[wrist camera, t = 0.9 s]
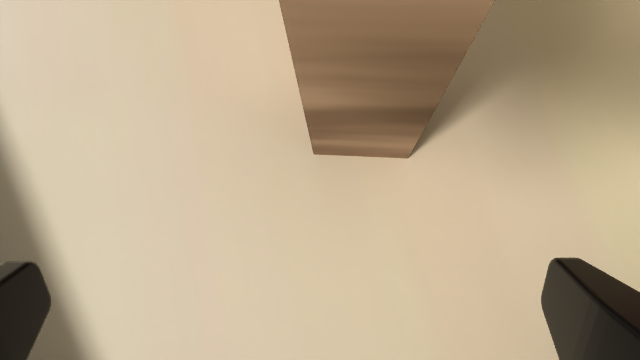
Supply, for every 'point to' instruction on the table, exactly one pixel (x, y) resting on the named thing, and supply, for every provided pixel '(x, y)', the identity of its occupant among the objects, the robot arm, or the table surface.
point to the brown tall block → (376, 68)
